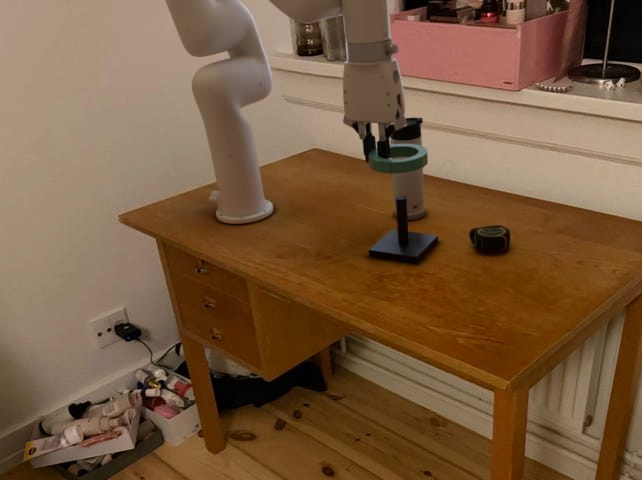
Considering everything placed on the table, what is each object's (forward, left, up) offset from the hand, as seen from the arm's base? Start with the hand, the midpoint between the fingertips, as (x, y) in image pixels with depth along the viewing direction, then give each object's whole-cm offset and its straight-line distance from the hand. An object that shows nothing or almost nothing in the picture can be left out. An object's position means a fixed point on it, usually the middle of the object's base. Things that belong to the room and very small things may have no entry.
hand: (377, 159), depth 127 cm
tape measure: (+19, +6, -17) cm, 27 cm away
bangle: (+4, 0, 0) cm, 4 cm away
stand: (+4, 0, -17) cm, 18 cm away
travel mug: (-2, +16, -17) cm, 24 cm away
